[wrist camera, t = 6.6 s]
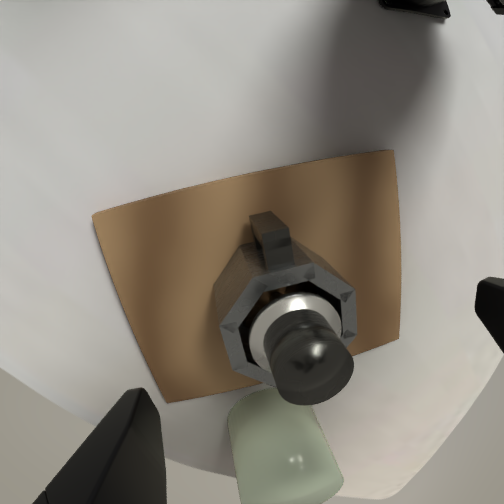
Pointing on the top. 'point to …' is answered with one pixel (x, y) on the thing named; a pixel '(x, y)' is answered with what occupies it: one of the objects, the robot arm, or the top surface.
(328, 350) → the plunger
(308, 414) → the sage mug
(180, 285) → the walnut board
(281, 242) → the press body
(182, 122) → the top surface
